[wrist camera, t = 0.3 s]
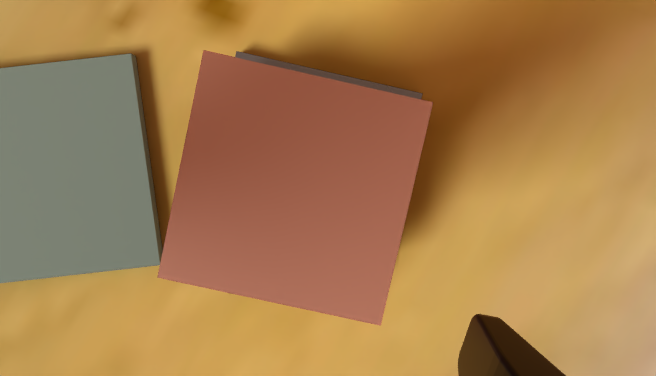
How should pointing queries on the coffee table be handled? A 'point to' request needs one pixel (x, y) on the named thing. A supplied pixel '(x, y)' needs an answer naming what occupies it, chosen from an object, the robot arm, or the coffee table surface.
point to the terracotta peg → (293, 188)
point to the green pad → (75, 170)
